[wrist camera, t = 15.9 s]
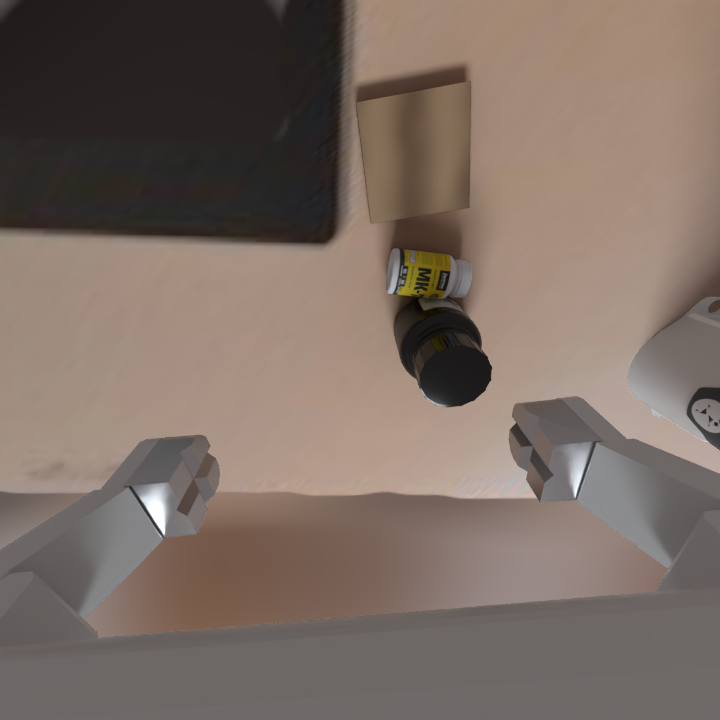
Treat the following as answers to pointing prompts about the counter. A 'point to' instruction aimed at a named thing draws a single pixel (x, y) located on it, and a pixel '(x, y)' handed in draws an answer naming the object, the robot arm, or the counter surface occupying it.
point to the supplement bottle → (427, 274)
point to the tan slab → (416, 152)
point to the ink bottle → (442, 351)
